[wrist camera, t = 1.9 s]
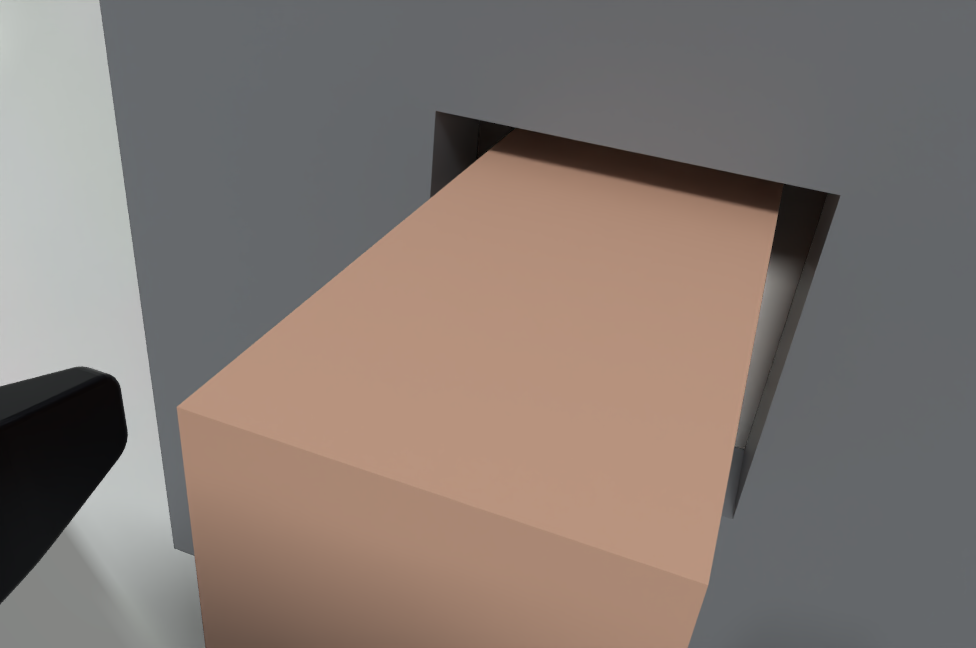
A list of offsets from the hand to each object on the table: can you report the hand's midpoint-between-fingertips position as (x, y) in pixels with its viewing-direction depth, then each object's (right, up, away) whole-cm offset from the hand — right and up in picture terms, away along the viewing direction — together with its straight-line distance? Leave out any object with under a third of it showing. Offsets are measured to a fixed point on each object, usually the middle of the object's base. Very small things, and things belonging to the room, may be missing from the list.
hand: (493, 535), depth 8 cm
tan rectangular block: (+2, +3, +5) cm, 6 cm away
